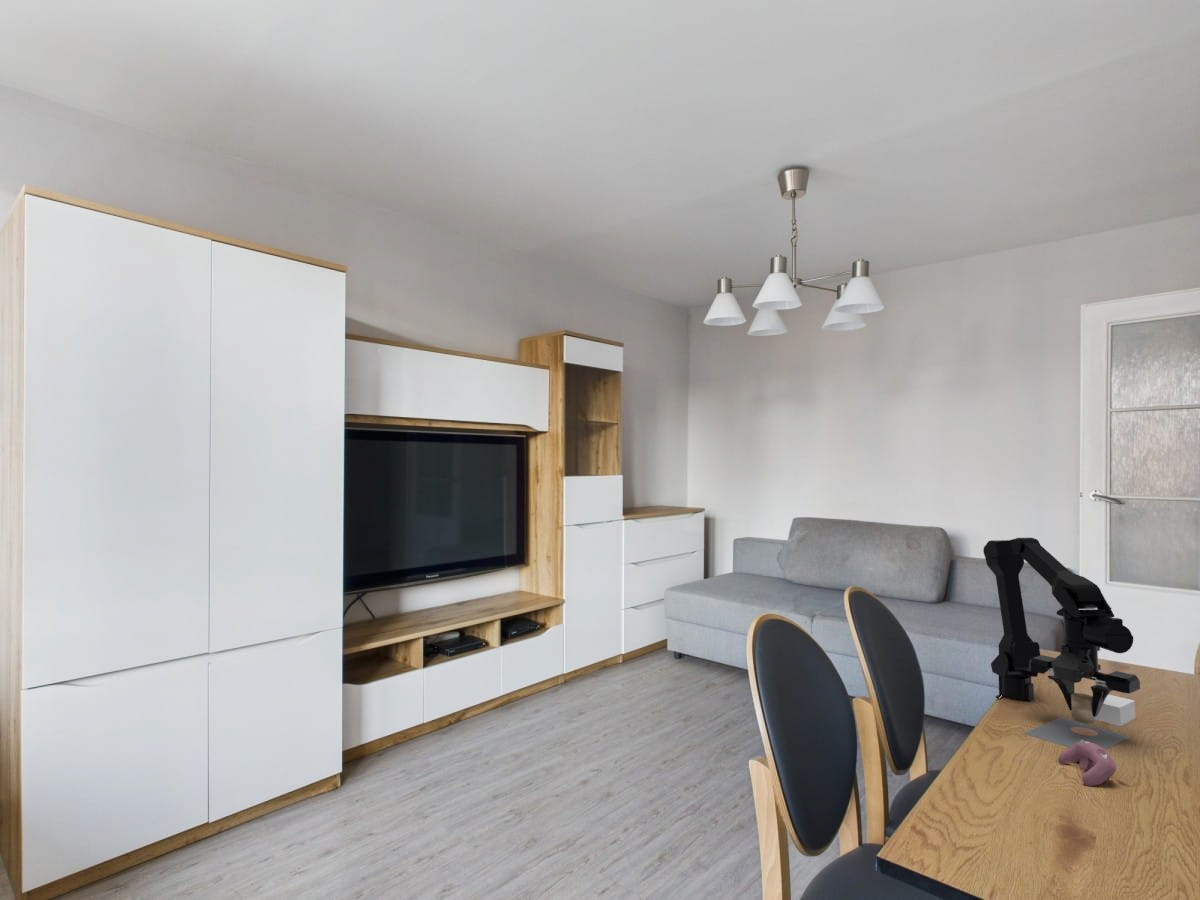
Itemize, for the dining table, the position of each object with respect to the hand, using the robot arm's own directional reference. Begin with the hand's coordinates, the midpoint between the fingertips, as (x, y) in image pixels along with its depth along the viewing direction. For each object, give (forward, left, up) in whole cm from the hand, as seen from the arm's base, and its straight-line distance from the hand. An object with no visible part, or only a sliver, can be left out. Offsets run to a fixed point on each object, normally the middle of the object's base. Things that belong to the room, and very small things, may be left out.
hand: (1083, 713), depth 139 cm
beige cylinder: (0, 0, -1) cm, 1 cm away
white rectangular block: (0, +14, -5) cm, 15 cm away
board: (0, -4, -5) cm, 6 cm away
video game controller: (+9, -21, -5) cm, 23 cm away
